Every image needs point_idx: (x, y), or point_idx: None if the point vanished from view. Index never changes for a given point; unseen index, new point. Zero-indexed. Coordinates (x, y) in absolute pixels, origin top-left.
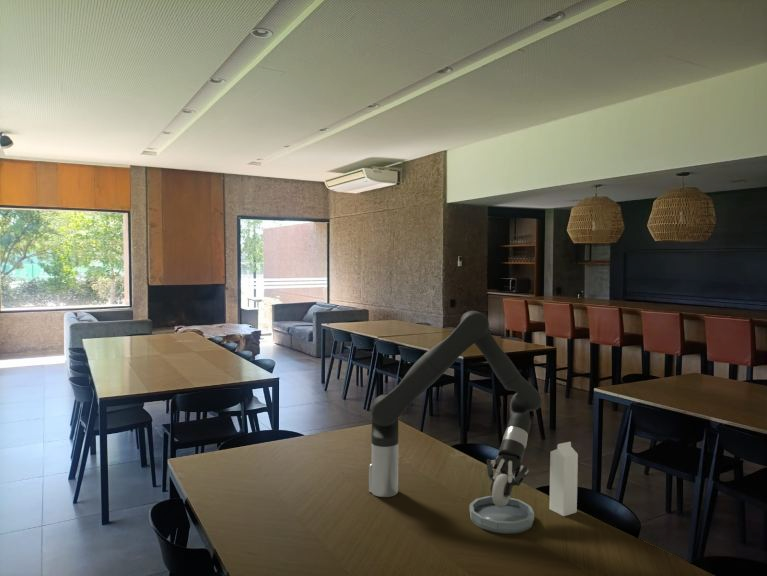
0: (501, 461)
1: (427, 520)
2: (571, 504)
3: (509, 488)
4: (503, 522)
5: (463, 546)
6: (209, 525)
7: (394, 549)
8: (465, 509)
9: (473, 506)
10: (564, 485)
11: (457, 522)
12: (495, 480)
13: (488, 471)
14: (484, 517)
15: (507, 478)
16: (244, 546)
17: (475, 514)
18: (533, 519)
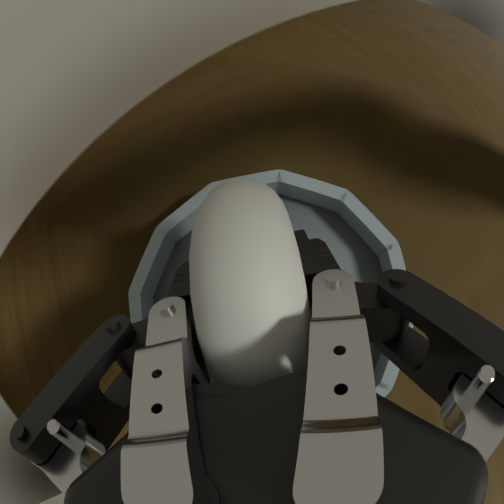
0: (356, 465)
1: (421, 138)
2: None
3: (176, 283)
4: (193, 199)
5: (256, 95)
6: (486, 35)
7: (344, 38)
8: None
9: (385, 258)
10: (52, 498)
11: (366, 176)
12: (268, 197)
13: (432, 292)
14: (274, 182)
15: (194, 320)
16: (437, 13)
17: (318, 180)
18: None
